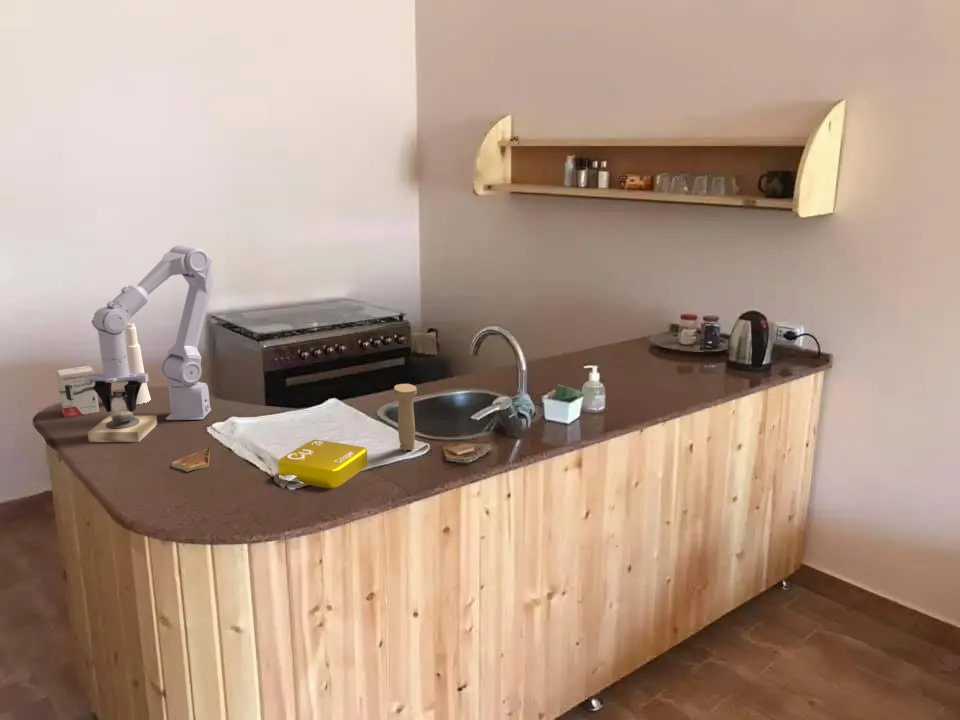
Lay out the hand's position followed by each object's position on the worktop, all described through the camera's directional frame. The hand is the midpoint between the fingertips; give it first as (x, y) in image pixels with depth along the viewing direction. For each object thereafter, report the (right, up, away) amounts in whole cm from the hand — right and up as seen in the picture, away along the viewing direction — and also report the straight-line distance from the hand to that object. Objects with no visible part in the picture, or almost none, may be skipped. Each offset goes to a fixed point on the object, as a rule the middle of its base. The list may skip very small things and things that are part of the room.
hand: (121, 410), depth 205 cm
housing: (0, -2, +1) cm, 2 cm away
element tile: (+54, -12, -22) cm, 59 cm away
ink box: (-18, -2, +17) cm, 25 cm away
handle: (+71, -9, -10) cm, 72 cm away
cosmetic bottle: (-6, +1, +26) cm, 26 cm away
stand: (0, -6, +2) cm, 6 cm away
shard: (+23, -11, -17) cm, 30 cm away
